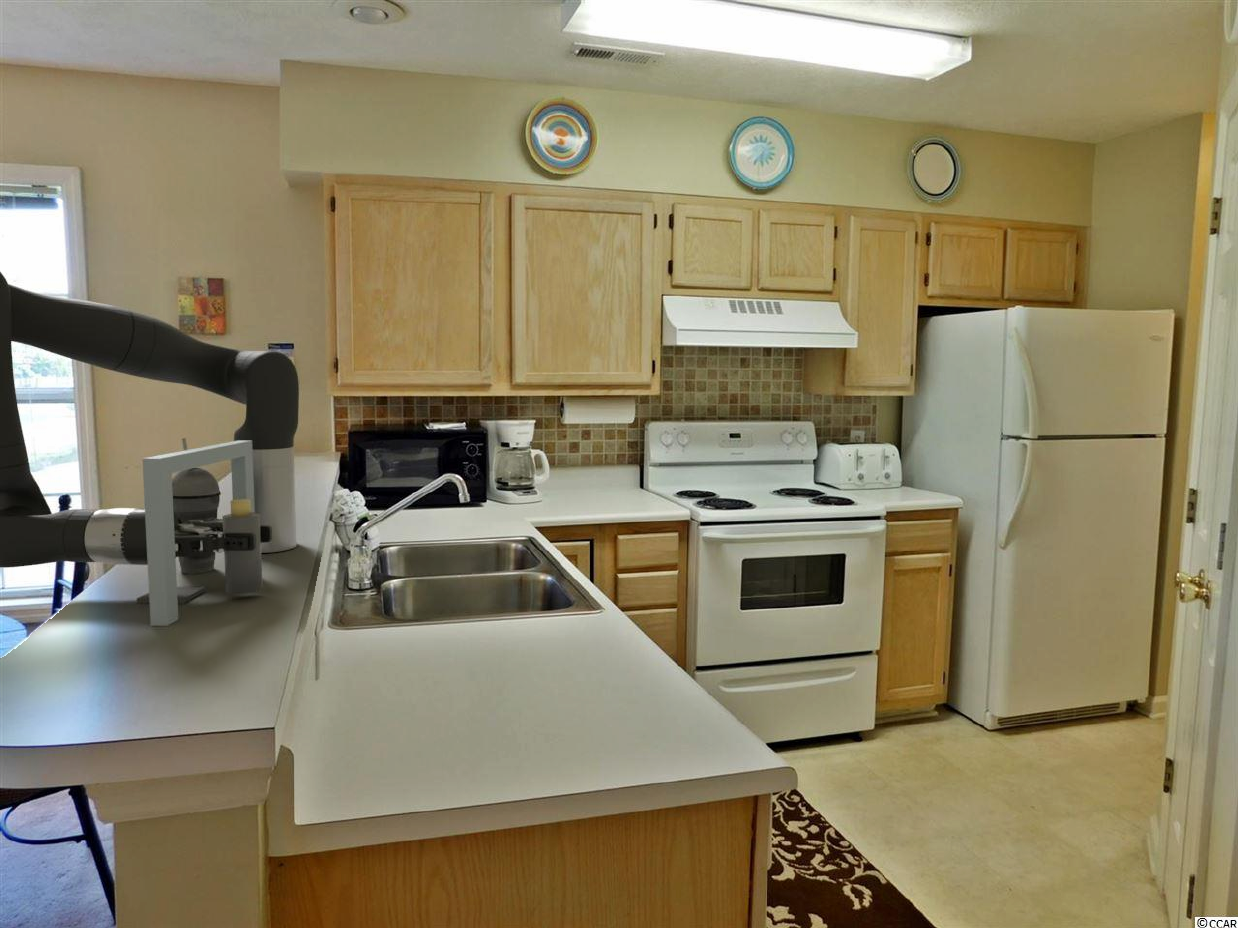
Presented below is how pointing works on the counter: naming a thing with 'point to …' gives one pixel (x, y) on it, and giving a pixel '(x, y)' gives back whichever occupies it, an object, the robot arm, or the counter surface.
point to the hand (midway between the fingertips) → (262, 537)
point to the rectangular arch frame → (162, 516)
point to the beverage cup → (195, 508)
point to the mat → (178, 594)
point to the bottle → (243, 565)
